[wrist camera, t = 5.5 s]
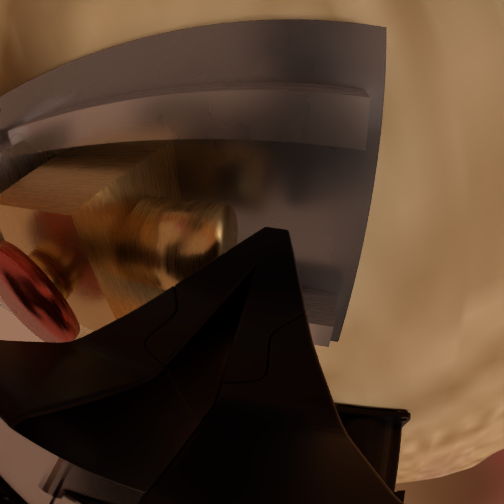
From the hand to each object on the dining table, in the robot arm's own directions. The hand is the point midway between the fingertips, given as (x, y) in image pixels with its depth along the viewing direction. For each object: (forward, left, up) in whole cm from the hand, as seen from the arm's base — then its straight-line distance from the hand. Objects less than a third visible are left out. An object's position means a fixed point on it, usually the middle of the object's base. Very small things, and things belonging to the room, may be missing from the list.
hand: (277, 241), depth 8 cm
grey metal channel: (+7, 0, -3) cm, 7 cm away
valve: (+6, 0, -2) cm, 6 cm away
